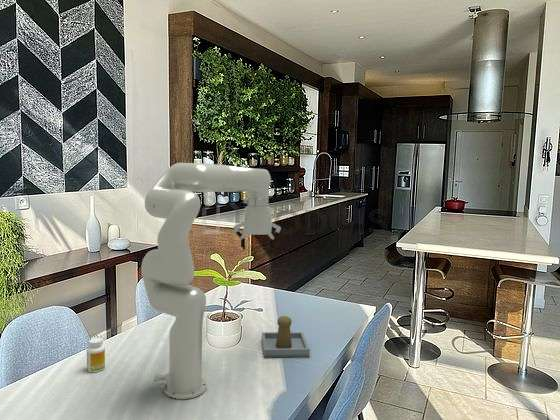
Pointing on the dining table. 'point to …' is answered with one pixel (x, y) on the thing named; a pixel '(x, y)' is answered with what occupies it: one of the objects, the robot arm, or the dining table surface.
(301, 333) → the tray
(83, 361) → the dining table surface
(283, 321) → the cork
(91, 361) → the supplement bottle
